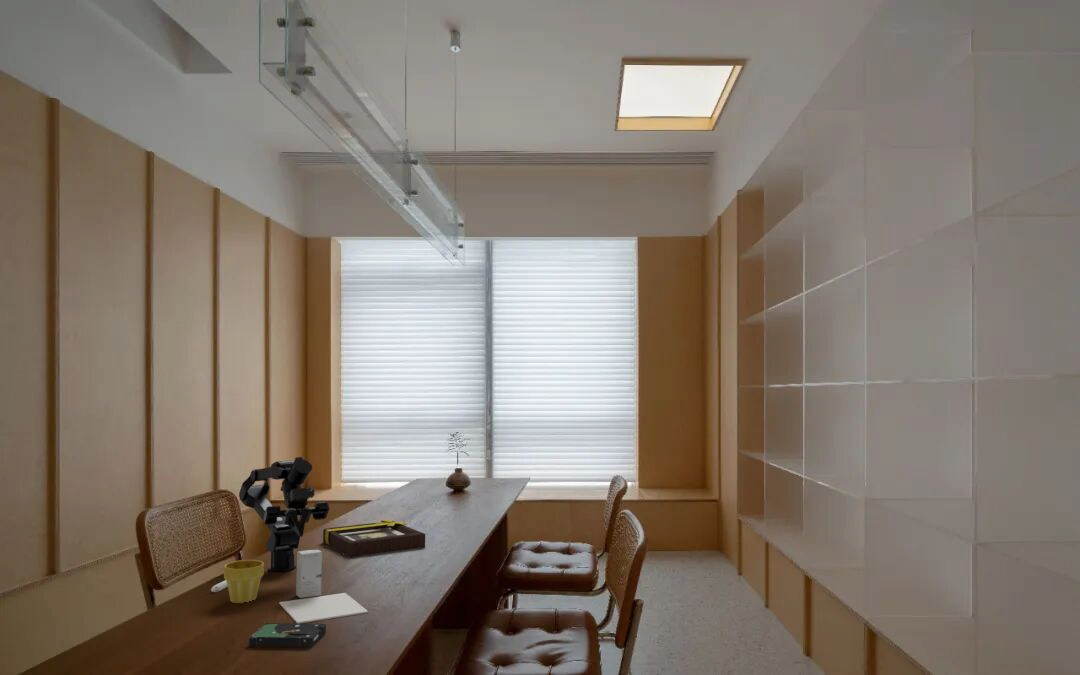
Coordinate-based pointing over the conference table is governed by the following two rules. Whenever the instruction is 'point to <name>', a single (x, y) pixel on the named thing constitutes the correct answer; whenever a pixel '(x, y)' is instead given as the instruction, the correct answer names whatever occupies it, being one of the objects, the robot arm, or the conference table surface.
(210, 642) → the conference table surface
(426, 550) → the conference table surface
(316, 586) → the skincare box
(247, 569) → the plant pot
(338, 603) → the mat
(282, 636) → the disk drive
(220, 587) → the marker
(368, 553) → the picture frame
